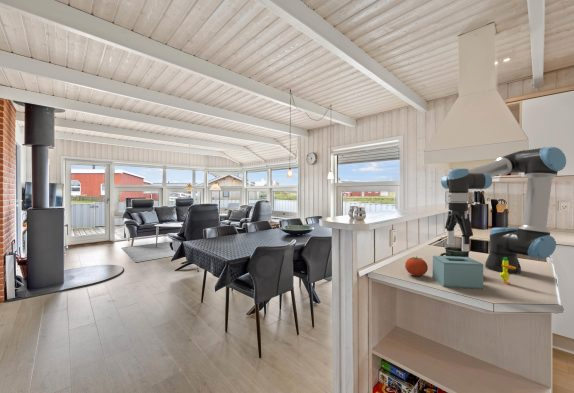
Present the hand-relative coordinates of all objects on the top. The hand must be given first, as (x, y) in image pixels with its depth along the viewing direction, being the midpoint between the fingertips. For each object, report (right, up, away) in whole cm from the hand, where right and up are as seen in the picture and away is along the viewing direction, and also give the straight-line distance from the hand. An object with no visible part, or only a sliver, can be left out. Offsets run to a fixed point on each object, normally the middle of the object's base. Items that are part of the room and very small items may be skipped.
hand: (457, 247), depth 119 cm
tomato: (-14, -17, +11) cm, 24 cm away
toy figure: (+23, -17, 0) cm, 28 cm away
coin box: (0, -17, 0) cm, 17 cm away
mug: (+9, -16, +17) cm, 25 cm away
